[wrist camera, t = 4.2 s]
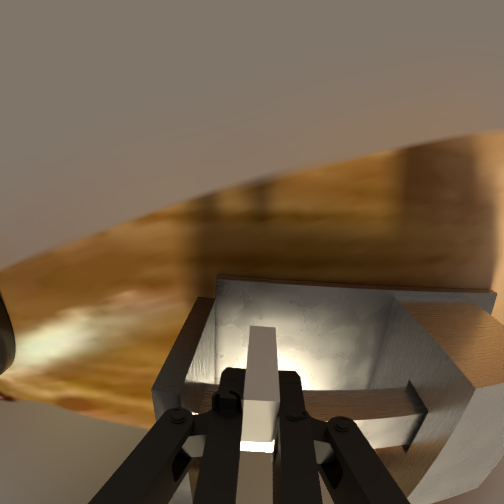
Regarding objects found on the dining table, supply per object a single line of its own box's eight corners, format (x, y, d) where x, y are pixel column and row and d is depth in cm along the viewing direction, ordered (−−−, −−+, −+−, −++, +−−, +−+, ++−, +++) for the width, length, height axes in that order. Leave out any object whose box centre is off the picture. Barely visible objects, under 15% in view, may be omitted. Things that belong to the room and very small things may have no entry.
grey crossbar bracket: (200, 421, 24) (177, 515, 14) (198, 296, 21) (151, 389, 11) (469, 411, 23) (510, 473, 14) (512, 308, 20) (581, 359, 11)
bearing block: (215, 402, 27) (191, 519, 14) (218, 274, 24) (171, 382, 11) (452, 396, 27) (505, 477, 14) (491, 289, 24) (581, 353, 11)
